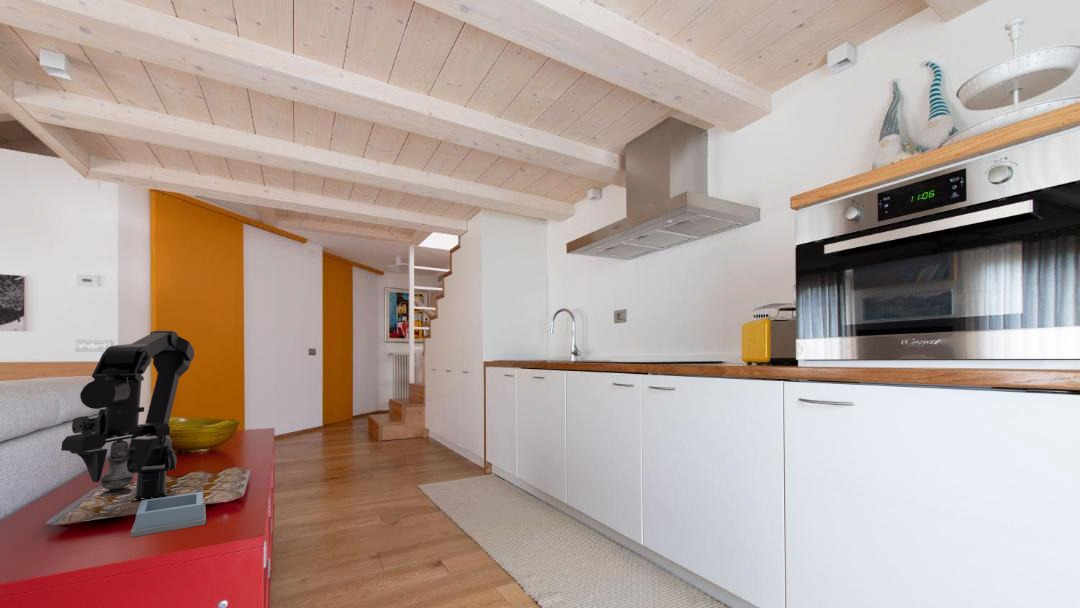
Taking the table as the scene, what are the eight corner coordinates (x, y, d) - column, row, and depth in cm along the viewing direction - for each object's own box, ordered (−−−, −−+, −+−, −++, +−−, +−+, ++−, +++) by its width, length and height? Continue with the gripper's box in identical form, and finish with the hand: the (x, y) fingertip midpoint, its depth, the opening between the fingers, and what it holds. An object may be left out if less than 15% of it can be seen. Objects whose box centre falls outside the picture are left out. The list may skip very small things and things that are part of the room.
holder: (136, 519, 103) (138, 500, 103) (204, 508, 110) (206, 490, 110) (130, 537, 93) (132, 516, 94) (205, 524, 100) (206, 504, 100)
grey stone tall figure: (114, 497, 100) (119, 439, 101) (89, 496, 101) (94, 438, 102) (141, 489, 106) (145, 434, 107) (117, 488, 107) (121, 433, 108)
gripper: (134, 398, 116) (129, 464, 114) (42, 407, 97) (35, 487, 96) (174, 399, 114) (169, 466, 112) (88, 409, 95) (81, 490, 94)
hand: (117, 476), depth 104 cm, fingers closed on grey stone tall figure, 8 cm apart
